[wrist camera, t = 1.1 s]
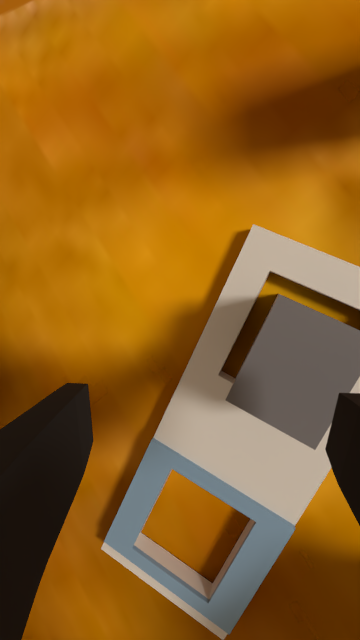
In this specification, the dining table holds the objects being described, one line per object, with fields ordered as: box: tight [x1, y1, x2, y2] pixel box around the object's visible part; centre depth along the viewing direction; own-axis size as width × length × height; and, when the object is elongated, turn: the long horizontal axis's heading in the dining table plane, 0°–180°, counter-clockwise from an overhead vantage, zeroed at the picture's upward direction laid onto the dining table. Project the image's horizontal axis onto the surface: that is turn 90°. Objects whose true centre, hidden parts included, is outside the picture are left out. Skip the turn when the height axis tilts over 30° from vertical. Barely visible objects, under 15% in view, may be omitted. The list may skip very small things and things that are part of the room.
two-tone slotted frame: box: [101, 224, 360, 640], centre depth 20 cm, size 10×25×2 cm, turn 155°
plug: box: [225, 294, 360, 450], centre depth 16 cm, size 4×5×7 cm
